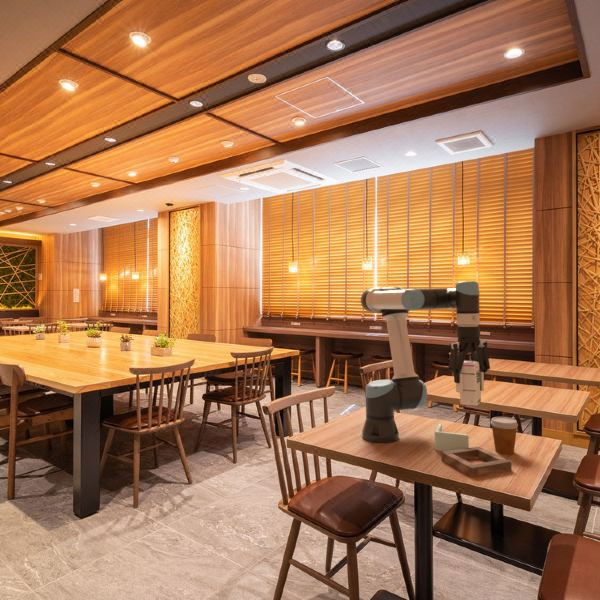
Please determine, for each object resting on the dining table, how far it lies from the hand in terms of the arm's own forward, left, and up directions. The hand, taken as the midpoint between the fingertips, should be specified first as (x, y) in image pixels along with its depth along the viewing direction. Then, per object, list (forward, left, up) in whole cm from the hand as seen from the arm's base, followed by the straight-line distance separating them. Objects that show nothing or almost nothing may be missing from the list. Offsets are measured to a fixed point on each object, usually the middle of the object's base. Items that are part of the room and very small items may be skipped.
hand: (470, 391), depth 152 cm
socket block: (0, +1, -26) cm, 26 cm away
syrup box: (0, 0, -4) cm, 4 cm away
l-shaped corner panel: (-18, +6, -27) cm, 33 cm away
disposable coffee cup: (-7, +20, -26) cm, 34 cm away
